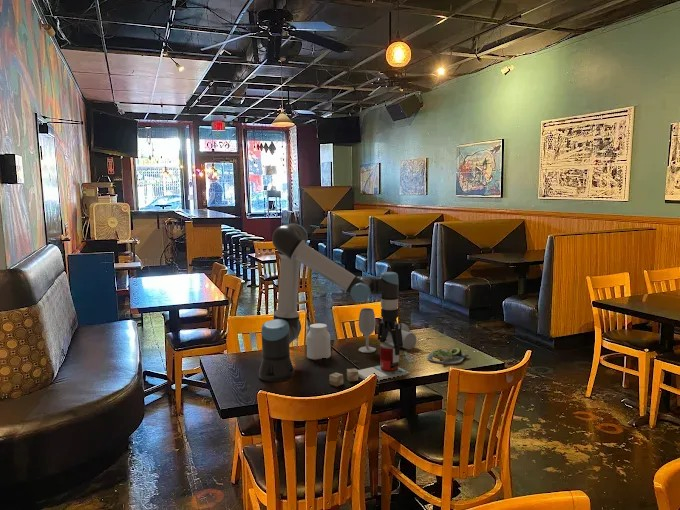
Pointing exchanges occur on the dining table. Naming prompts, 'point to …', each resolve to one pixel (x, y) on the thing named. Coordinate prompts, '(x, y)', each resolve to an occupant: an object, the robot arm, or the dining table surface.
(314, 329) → the jar
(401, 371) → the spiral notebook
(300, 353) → the dining table surface
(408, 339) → the bent grey cylinder
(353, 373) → the maple block
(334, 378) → the maple block
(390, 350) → the canned food
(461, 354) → the salad plate
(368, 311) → the wineglass
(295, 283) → the robot arm
